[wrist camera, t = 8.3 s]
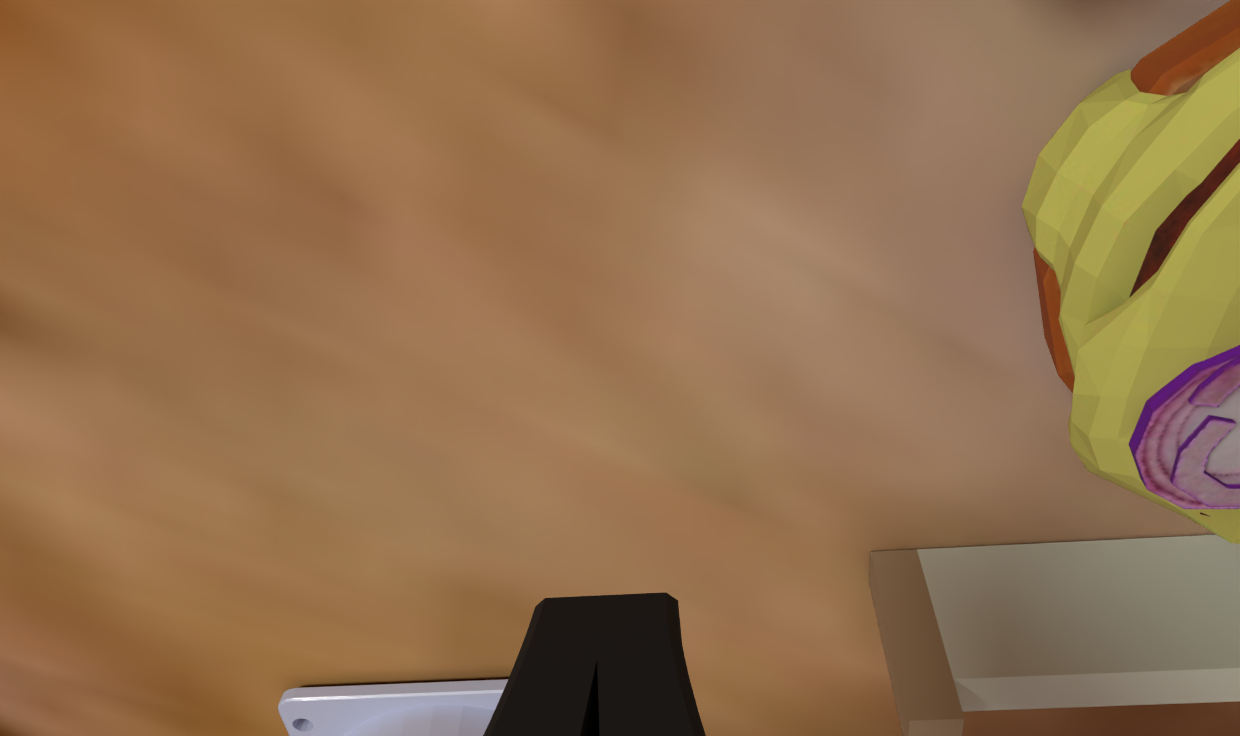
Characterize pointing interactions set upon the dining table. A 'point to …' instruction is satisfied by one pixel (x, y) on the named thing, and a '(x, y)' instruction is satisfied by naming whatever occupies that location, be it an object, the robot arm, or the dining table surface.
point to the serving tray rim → (1057, 626)
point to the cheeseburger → (1151, 272)
